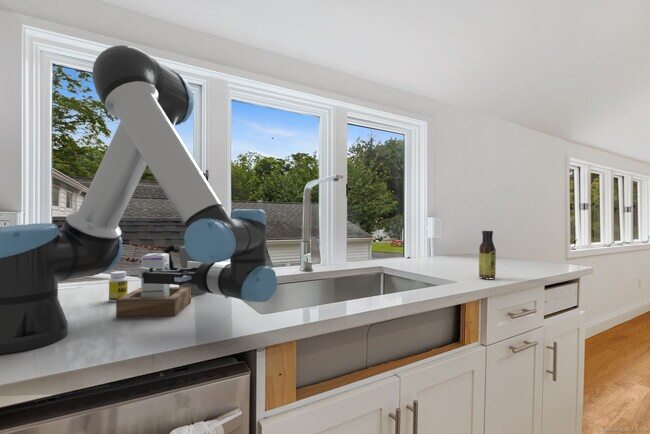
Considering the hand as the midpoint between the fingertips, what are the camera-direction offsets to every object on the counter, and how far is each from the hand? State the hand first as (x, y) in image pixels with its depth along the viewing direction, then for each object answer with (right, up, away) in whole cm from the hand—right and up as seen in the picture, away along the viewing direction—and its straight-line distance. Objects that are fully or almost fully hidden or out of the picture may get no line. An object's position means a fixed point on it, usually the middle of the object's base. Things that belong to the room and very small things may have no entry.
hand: (165, 269), depth 92 cm
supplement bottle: (-19, -11, +11) cm, 25 cm away
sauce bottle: (+109, -12, +52) cm, 122 cm away
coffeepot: (-2, -11, +22) cm, 25 cm away
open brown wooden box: (-3, -11, +2) cm, 12 cm away
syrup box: (-3, -11, +2) cm, 12 cm away
